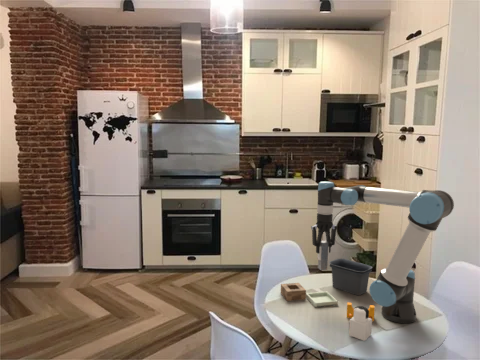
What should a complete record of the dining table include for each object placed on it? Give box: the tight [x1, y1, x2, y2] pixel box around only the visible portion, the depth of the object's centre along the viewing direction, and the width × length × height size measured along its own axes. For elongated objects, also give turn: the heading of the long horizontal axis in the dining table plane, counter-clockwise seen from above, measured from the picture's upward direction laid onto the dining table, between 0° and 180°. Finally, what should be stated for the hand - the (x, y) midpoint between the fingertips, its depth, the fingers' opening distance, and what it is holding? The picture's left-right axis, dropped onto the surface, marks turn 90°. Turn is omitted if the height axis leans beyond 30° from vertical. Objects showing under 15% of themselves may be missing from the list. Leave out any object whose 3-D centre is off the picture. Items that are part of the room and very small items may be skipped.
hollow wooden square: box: [280, 282, 307, 302], centre depth 205 cm, size 10×10×5 cm
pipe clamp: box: [346, 301, 376, 322], centre depth 183 cm, size 12×4×6 cm, turn 75°
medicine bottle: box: [348, 305, 373, 342], centre depth 166 cm, size 7×7×12 cm
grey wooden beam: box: [317, 240, 329, 271], centre depth 197 cm, size 3×3×14 cm
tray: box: [306, 290, 339, 308], centre depth 200 cm, size 12×12×2 cm
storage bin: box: [328, 257, 373, 296], centre depth 215 cm, size 21×16×14 cm
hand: (322, 259), depth 197 cm, fingers closed on grey wooden beam, 3 cm apart
